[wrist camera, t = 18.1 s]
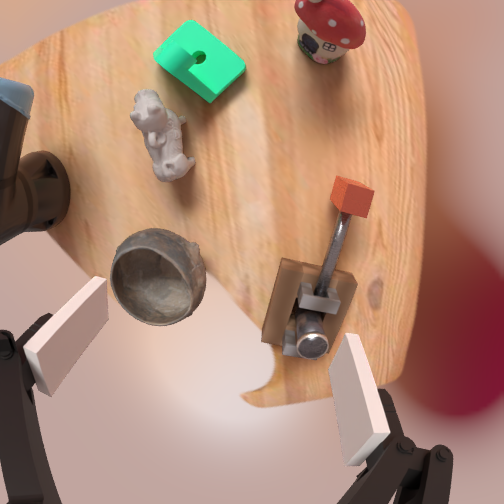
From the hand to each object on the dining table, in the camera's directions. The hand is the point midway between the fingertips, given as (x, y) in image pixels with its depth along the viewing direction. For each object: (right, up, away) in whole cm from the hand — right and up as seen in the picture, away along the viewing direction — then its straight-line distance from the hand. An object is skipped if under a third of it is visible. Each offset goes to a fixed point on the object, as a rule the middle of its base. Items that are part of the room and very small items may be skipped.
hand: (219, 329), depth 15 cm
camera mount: (-6, +32, +22) cm, 39 cm away
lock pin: (+13, +6, +28) cm, 32 cm away
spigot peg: (+11, -5, +35) cm, 37 cm away
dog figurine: (-10, +21, +27) cm, 36 cm away
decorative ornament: (+11, +34, +20) cm, 41 cm away
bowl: (-12, +3, +34) cm, 37 cm away
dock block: (+11, -5, +35) cm, 37 cm away
